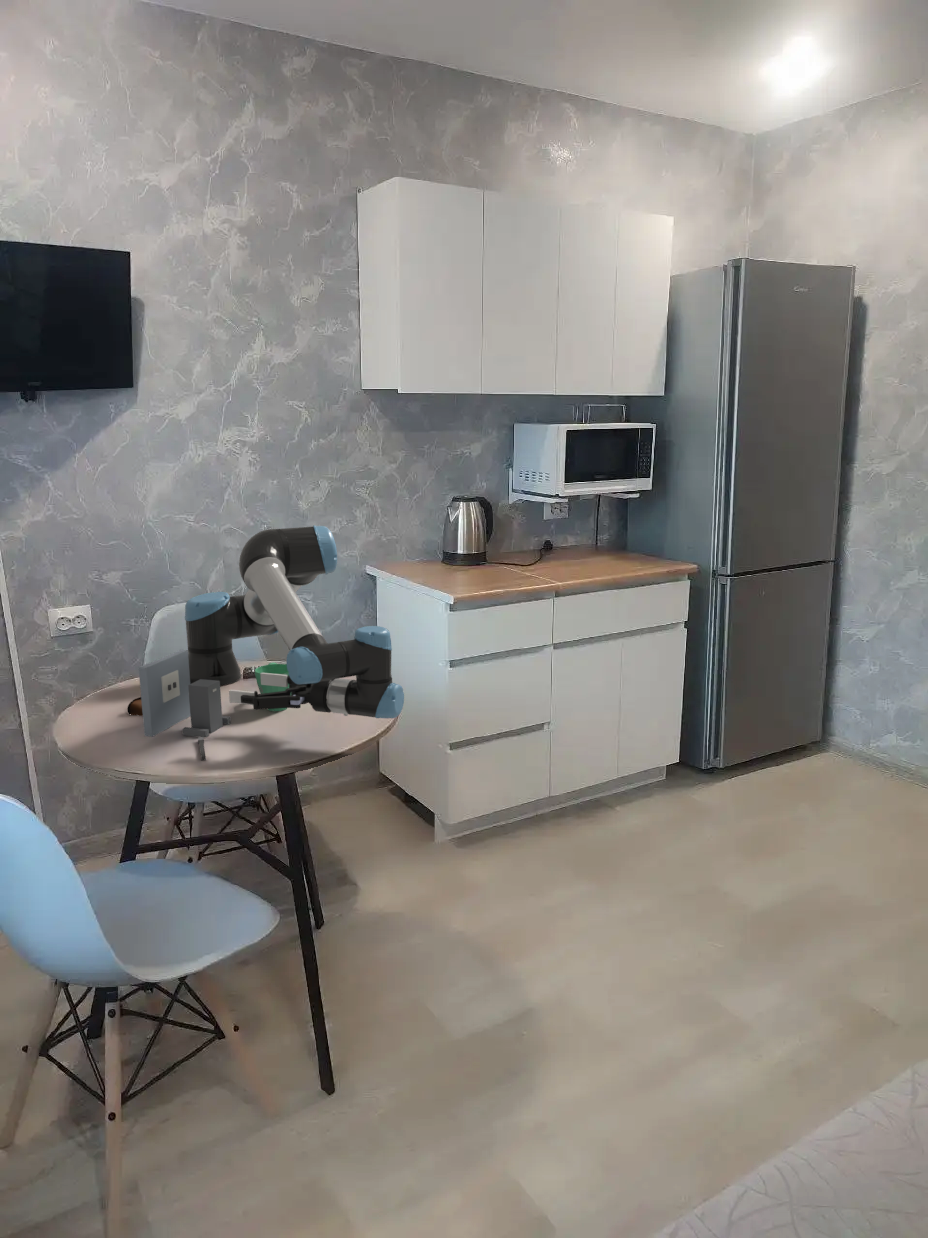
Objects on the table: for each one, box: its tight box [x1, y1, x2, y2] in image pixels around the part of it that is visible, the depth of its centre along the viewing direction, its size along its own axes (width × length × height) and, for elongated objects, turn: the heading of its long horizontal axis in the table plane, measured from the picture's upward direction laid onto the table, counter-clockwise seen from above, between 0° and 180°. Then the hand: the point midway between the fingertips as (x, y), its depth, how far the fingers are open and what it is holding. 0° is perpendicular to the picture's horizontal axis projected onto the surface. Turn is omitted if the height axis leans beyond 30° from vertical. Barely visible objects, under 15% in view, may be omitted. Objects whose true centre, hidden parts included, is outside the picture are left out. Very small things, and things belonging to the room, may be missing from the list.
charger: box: [188, 679, 224, 735], centre depth 207 cm, size 5×6×11 cm
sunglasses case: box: [126, 696, 143, 717], centre depth 226 cm, size 18×7×7 cm
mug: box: [254, 662, 289, 712], centre depth 224 cm, size 15×10×10 cm
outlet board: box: [138, 649, 232, 738], centre depth 207 cm, size 16×14×16 cm
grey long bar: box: [197, 737, 207, 761], centre depth 194 cm, size 12×1×1 cm, turn 18°
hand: (246, 687), depth 203 cm, fingers open, 13 cm apart
